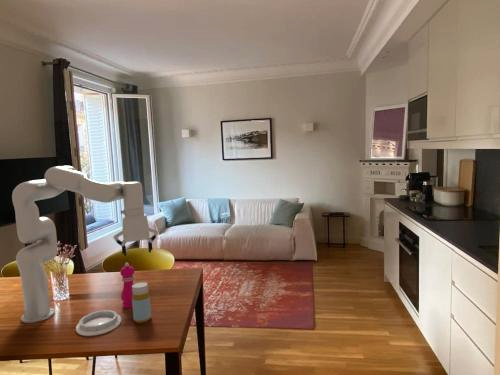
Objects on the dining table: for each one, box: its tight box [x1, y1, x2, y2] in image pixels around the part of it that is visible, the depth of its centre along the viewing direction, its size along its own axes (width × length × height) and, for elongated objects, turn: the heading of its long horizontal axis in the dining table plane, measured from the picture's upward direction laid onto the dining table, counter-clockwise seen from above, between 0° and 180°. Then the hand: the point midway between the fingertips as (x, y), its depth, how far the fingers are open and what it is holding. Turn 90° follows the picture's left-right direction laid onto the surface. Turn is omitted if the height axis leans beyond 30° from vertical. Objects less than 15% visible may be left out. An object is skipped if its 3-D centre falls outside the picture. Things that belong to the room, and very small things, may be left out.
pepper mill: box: [120, 262, 135, 309], centre depth 161 cm, size 7×7×20 cm
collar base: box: [75, 309, 122, 337], centre depth 144 cm, size 17×17×3 cm
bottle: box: [132, 281, 152, 324], centre depth 146 cm, size 7×7×15 cm
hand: (137, 253), depth 144 cm, fingers open, 9 cm apart
